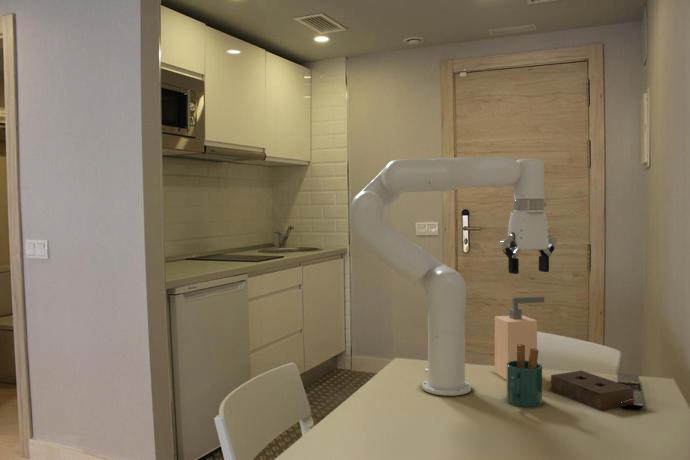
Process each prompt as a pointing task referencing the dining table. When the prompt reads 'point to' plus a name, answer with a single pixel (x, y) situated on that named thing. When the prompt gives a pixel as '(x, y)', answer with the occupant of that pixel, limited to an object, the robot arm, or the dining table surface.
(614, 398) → the stirrer stand
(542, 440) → the dining table surface
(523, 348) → the stirrer
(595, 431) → the dining table surface
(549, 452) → the dining table surface
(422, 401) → the dining table surface
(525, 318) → the soap dispenser
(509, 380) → the mug
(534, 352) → the stirrer
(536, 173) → the robot arm
